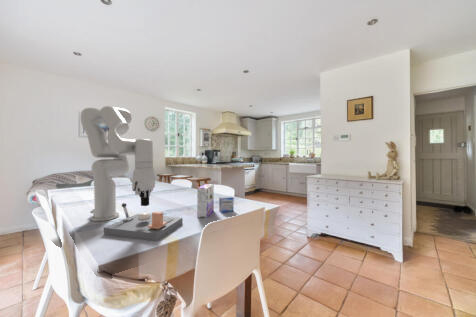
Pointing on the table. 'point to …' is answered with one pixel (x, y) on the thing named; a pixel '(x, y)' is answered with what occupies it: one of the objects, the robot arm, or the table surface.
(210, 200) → the candy box
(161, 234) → the control board
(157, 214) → the block
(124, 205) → the toggle lever
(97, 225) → the table surface
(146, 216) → the push button
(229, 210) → the medicine box
